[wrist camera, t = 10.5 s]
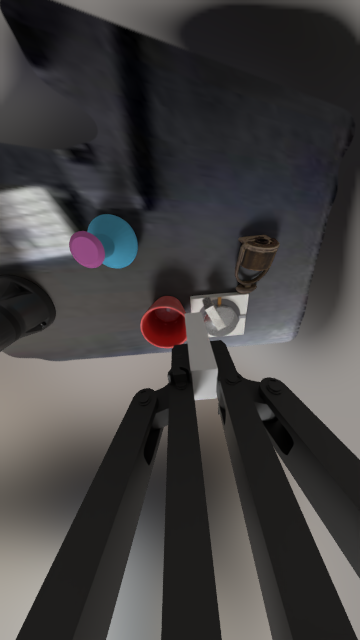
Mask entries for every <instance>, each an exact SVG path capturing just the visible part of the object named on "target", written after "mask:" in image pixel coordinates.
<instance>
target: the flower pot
mask: <svg viewBox="0 0 360 640" xmlns="http://www.w3.org/2000/svg"><path fill="white" fill-rule="evenodd" d="M185 314H186V312H185V310H184V308H183V306H182V304H181V302H180V301H179V300H178V299H176V298H175V297H172V296H163V297H160V298H159V299H157V300H156V301H155V302H154V303H153V304H152V306H151V307H150V308H149V309H148V310H147V311H146V313H145V314H144V315H143V317H142V320H141V331H142V334H143V336H144V337H145V339H146V340H147V341H148V342H150V343H151V344H153V345H155V346H157V347H161V348H173V347H174V345H178V344H183V343H184V342H185V341H186V340H187V334H186V324H185Z"/></svg>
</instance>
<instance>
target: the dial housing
mask: <svg viewBox="0 0 360 640" xmlns="http://www.w3.org/2000/svg"><path fill="white" fill-rule="evenodd" d="M208 296H209V297H210V298H211V300H212V302H213V303H214V305H218V304H225V305H228V306H230V307H231V308H232V309H233V310H234V312H235V313H236V315H237V317H238V324H237V326H236V328H235V329H234V330H233V331H232V332H231V333H230V334H228V335H225V336H231V335H243V334H244V326H245V319H246V311H247V304H248V296H249V294H248V293H246V294H244V293H239V292H231V293H220V294H209V295H198V296H190V303H191V313H196V312H201V313H202V317H203V316H204V314H205V312H206V311H205V308H204V305H203V302H202V300H203V299H204V298H206V297H208ZM207 334H208V337H217V336H212V335H210V334H209V333H207Z"/></svg>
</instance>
